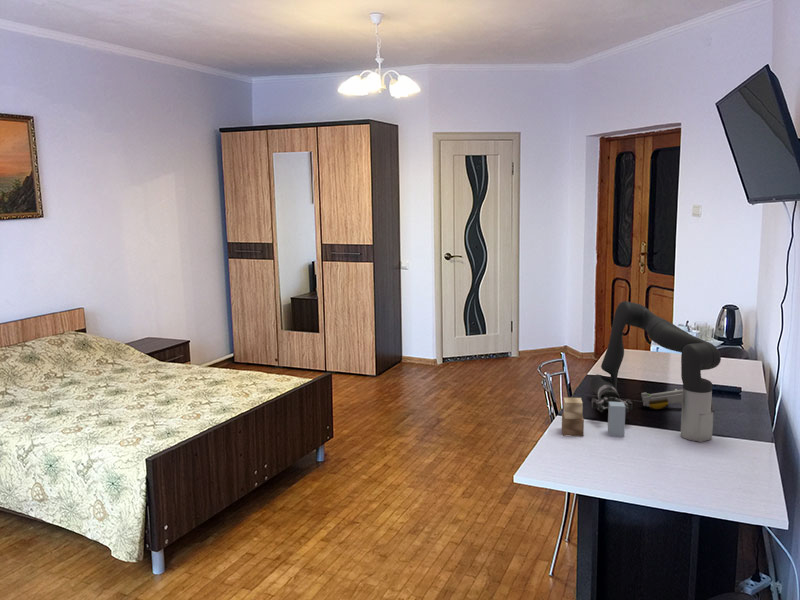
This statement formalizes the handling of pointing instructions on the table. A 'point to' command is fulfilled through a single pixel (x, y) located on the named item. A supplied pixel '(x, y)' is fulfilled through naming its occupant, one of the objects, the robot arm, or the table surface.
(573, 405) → the beech block
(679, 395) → the toy
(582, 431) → the walnut block
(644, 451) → the table surface
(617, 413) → the slate block
